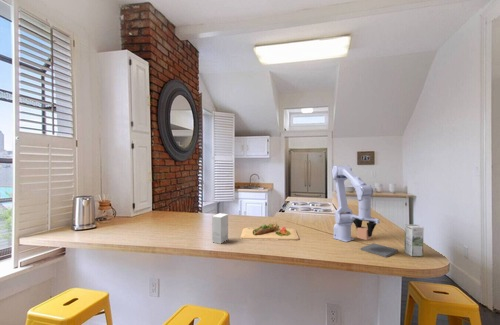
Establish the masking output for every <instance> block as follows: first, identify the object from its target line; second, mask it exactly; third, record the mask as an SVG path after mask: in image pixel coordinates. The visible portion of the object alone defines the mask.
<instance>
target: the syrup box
mask: <svg viewBox="0 0 500 325" xmlns="http://www.w3.org/2000/svg"><path fill="white" fill-rule="evenodd" d="M424 230H425V229H424V226H421V225H420V224H404V253H405V254H406V255H409V256H410V257H424Z"/></svg>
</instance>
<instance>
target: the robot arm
mask: <svg viewBox="0 0 500 325" xmlns="http://www.w3.org/2000/svg"><path fill="white" fill-rule="evenodd" d="M331 174H332V179H333V181H334V183H335V184H334V185H335V191H336V199H337V204H338V206H337V207H338V208H337V209H336V210H335V211H334V221H335V223H334V225H333V237H332V239H335V240H338V241H341V242H345V243H348V242H350V241H351V242H352V241H354V240H355V238H353V237H352V225H353V224H354V226H355V228H356V229H357V228H359V227H362V226H363V221H364V222H366V227H367V228H368V236H369V237H370V236H372V237H373V232H374V229H375V227H376V226H377V224H380V219H379V218H376V217H371V216H372V214H371V212H372V208H371V205H372V204H371V202H372V201H371V199H372V198H371V197H372V196H373V194H374V188H373V186H372V185H371V184H366V183H365V181H364V180H363V179H362V178H361V177H360V176H356V175H355V173H354V172H353V168H352V167H351V166H350V165H348V164H347V165H333V167H332V170H331ZM346 180H349V181H350V185H351V186H352V187H353V188H354V190H355V192H356V196H357V197H356V198H357V200H358V214H354V213H353V210H352V209H351V208H349V207H348V199H347V194H346V187H345V181H346Z"/></svg>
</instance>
